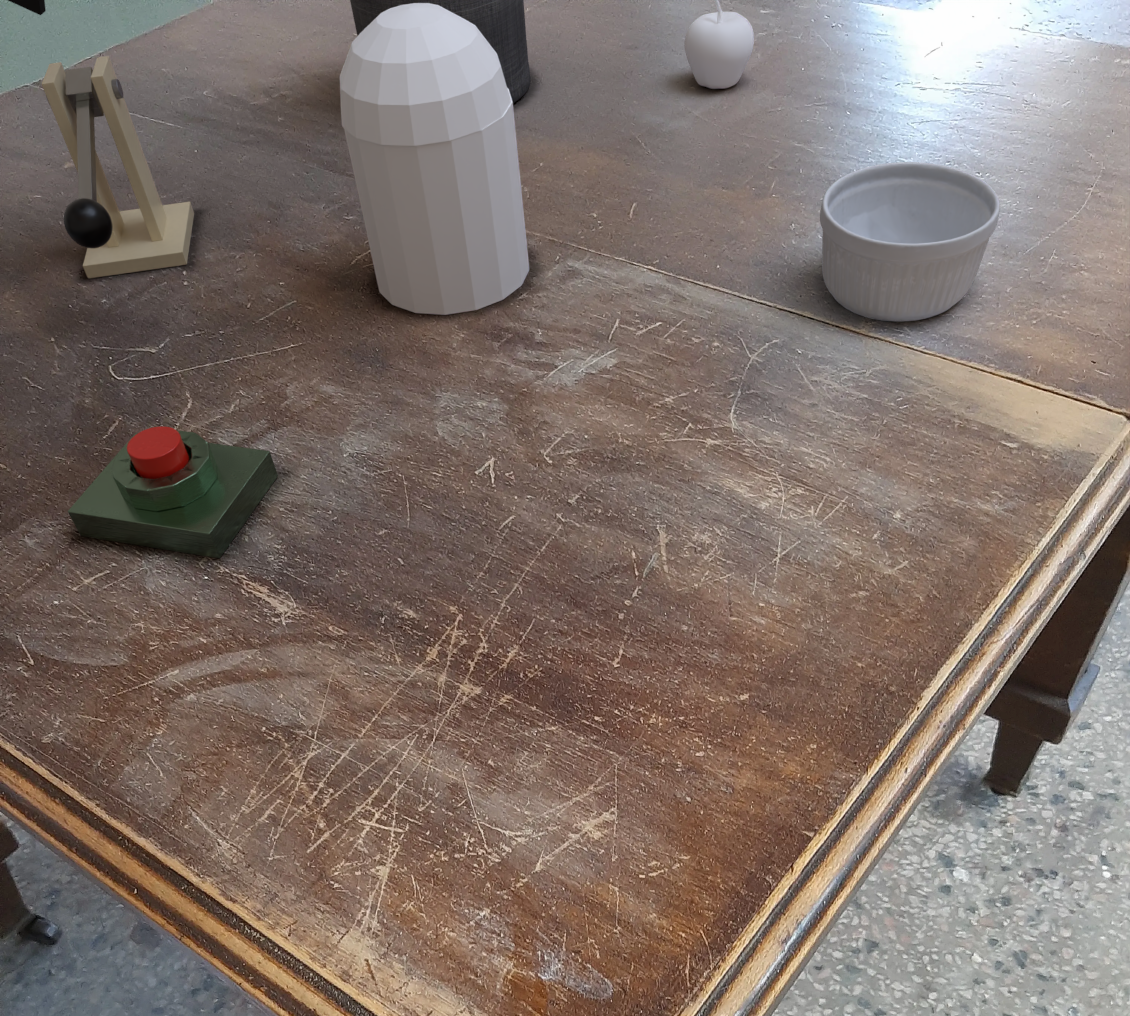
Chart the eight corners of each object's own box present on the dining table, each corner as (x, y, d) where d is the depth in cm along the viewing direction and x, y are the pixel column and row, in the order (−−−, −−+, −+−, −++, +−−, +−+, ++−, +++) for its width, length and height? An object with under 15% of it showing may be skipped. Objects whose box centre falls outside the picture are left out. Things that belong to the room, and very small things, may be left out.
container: (485, 326, 88) (446, 51, 72) (346, 300, 92) (282, 34, 77) (554, 247, 95) (533, -20, 80) (423, 226, 100) (379, -31, 84)
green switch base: (80, 536, 75) (55, 489, 72) (146, 457, 80) (125, 411, 77) (219, 558, 73) (199, 511, 70) (278, 476, 78) (262, 428, 75)
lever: (120, 254, 88) (101, 220, 84) (76, 261, 88) (55, 226, 84) (114, 96, 93) (96, 58, 90) (72, 102, 93) (53, 64, 90)
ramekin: (891, 352, 82) (908, 263, 76) (777, 283, 89) (785, 197, 84) (1015, 291, 86) (1039, 203, 80) (896, 230, 93) (911, 145, 88)
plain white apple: (682, 71, 117) (684, -15, 111) (749, 67, 116) (754, -20, 110) (684, 98, 113) (686, 10, 106) (753, 94, 112) (759, 5, 106)
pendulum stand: (187, 264, 98) (123, 85, 87) (87, 278, 98) (10, 100, 86) (194, 213, 104) (136, 40, 93) (101, 226, 104) (30, 54, 92)
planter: (337, 97, 119) (300, -77, 107) (462, 46, 126) (440, -123, 114) (436, 141, 111) (407, -43, 98) (564, 83, 117) (553, -95, 105)
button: (126, 476, 73) (116, 455, 72) (153, 444, 75) (143, 423, 74) (172, 483, 72) (163, 461, 71) (198, 450, 74) (189, 429, 73)
